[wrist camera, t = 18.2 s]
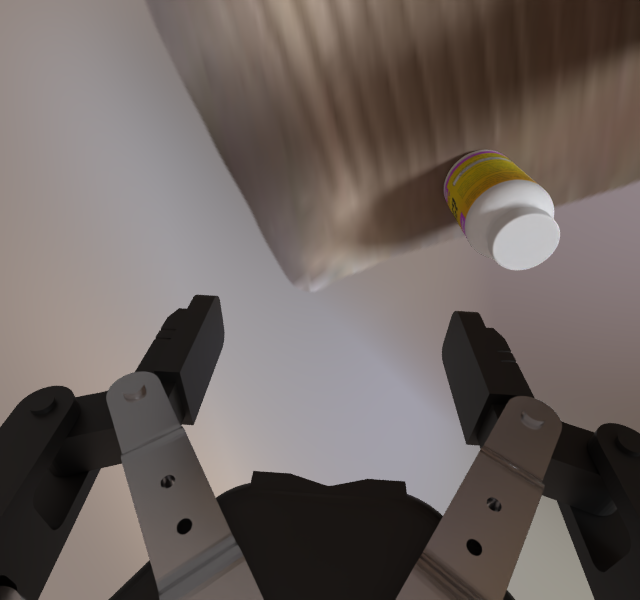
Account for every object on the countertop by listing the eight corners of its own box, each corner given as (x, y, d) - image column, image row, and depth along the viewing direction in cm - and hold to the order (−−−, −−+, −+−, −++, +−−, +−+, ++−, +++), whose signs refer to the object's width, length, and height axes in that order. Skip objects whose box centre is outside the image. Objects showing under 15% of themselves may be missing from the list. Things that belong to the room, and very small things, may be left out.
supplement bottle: (429, 179, 38) (460, 238, 28) (491, 132, 35) (551, 178, 25) (463, 226, 41) (504, 295, 31) (523, 185, 38) (590, 247, 28)
